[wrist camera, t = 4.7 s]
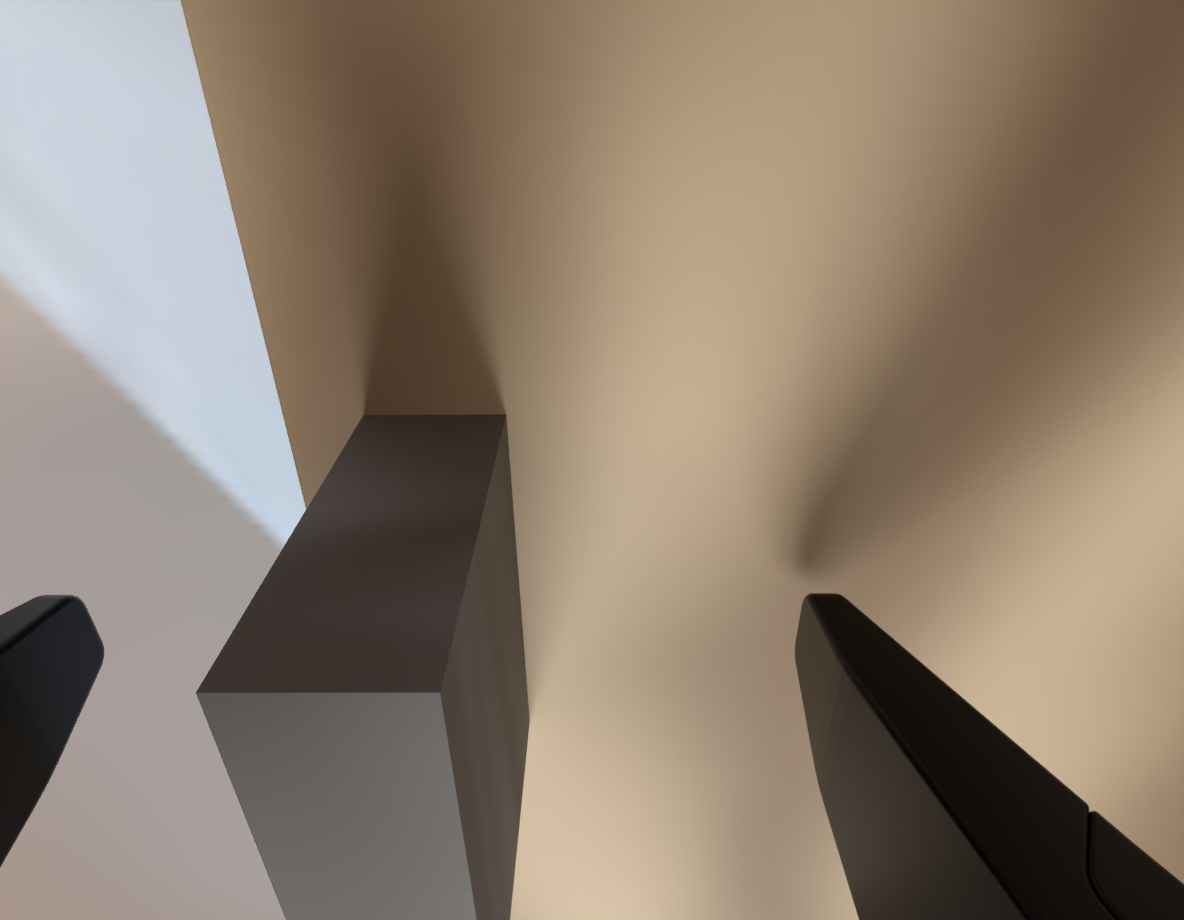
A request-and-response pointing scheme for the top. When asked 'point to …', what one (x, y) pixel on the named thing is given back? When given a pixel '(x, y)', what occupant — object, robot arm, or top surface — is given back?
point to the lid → (692, 427)
